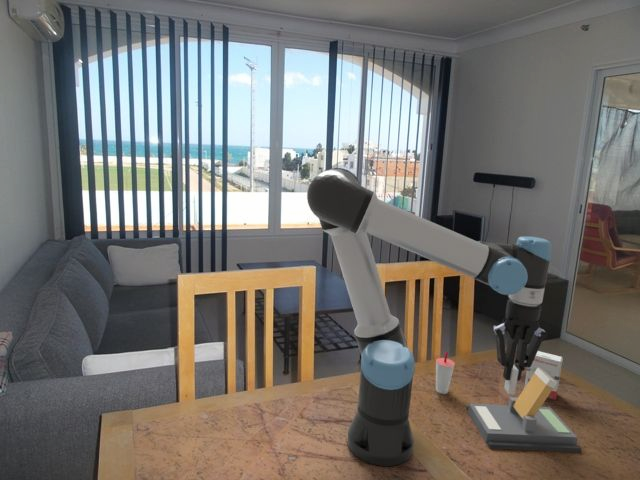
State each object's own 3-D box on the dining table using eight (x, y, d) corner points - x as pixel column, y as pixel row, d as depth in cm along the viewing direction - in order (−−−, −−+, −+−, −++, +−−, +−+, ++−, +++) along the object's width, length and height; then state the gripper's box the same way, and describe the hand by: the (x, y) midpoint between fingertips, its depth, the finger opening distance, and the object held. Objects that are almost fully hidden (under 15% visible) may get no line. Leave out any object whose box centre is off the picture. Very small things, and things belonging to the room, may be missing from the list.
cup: (438, 384, 136) (443, 346, 134) (454, 391, 133) (460, 353, 130) (428, 389, 133) (433, 351, 130) (445, 397, 129) (450, 358, 127)
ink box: (557, 393, 135) (564, 356, 133) (555, 400, 131) (562, 362, 129) (525, 384, 140) (531, 348, 138) (523, 390, 136) (529, 353, 133)
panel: (485, 442, 110) (489, 421, 109) (467, 411, 122) (470, 392, 121) (575, 446, 110) (580, 425, 109) (548, 415, 123) (551, 396, 122)
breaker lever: (522, 421, 113) (550, 379, 110) (511, 407, 119) (537, 367, 117) (529, 425, 113) (557, 383, 111) (518, 410, 119) (544, 370, 117)
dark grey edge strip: (489, 448, 108) (489, 444, 108) (487, 445, 109) (488, 441, 109) (580, 451, 108) (581, 448, 108) (578, 449, 109) (579, 445, 109)
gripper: (504, 305, 106) (489, 397, 110) (559, 308, 106) (542, 400, 111) (491, 294, 113) (478, 382, 118) (543, 298, 114) (527, 385, 118)
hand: (509, 391), depth 114 cm, fingers closed
